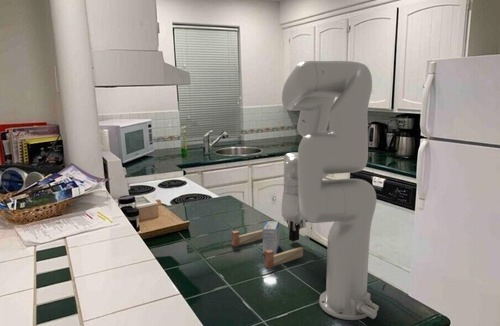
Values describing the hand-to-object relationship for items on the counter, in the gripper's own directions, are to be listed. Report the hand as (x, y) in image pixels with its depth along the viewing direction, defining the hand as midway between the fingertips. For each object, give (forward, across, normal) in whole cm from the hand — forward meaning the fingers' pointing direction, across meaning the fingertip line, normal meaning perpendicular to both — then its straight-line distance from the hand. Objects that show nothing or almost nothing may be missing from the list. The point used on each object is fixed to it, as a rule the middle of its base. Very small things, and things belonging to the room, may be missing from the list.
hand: (294, 239), depth 128 cm
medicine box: (+1, 0, +10) cm, 10 cm away
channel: (+1, 0, +11) cm, 11 cm away
